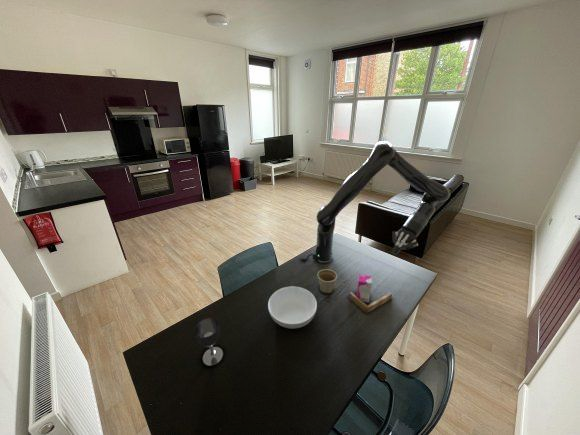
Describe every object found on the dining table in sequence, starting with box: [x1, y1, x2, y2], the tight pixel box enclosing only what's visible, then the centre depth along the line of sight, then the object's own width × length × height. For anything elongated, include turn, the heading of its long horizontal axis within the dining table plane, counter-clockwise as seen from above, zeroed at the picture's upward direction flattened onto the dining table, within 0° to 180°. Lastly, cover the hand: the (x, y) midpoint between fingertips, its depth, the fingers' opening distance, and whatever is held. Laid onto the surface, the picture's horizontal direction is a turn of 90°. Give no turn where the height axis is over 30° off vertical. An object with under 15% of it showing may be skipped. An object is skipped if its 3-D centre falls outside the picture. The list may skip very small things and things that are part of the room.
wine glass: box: [193, 317, 224, 367], centre depth 84 cm, size 8×8×15 cm
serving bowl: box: [267, 285, 318, 330], centre depth 103 cm, size 21×21×7 cm
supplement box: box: [355, 273, 373, 304], centre depth 111 cm, size 6×6×12 cm
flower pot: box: [317, 268, 338, 294], centre depth 117 cm, size 9×9×9 cm
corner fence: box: [348, 292, 393, 314], centre depth 112 cm, size 16×11×3 cm, turn 121°
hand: (393, 254), depth 108 cm, fingers closed
